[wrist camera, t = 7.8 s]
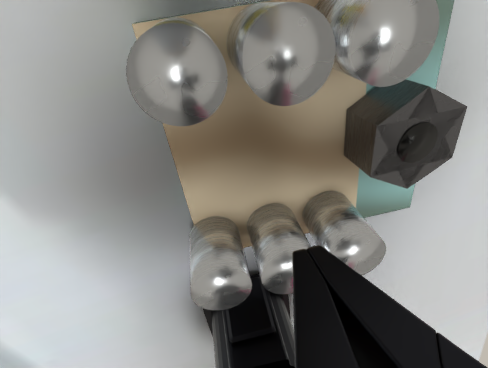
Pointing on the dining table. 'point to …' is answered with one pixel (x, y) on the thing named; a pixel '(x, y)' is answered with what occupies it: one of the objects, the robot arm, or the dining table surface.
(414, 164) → the nut
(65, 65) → the dining table surface
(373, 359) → the robot arm
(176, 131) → the board
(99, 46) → the dining table surface
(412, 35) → the spacers
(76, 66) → the dining table surface
